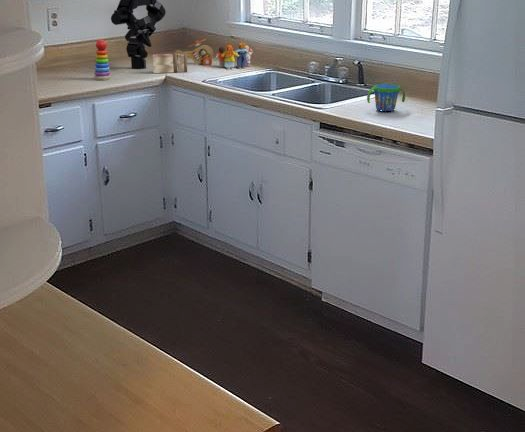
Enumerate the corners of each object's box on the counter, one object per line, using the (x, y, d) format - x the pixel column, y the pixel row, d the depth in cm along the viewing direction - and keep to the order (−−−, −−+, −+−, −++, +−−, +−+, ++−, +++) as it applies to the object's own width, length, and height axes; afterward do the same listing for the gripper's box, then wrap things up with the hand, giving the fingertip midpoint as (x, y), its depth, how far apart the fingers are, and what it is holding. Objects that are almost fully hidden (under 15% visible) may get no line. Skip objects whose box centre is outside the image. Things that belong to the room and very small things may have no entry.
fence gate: (177, 71, 405) (176, 53, 401) (177, 72, 403) (177, 53, 400) (153, 72, 402) (152, 54, 398) (153, 73, 400) (152, 54, 397)
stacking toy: (97, 81, 387) (94, 41, 380) (92, 78, 393) (89, 39, 386) (113, 79, 390) (110, 40, 383) (108, 76, 397) (105, 38, 390)
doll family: (251, 65, 426) (251, 40, 421) (259, 68, 418) (259, 42, 413) (214, 68, 417) (213, 42, 413) (221, 71, 409) (221, 45, 405)
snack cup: (401, 107, 337) (403, 83, 333) (407, 113, 327) (408, 88, 323) (364, 107, 336) (365, 83, 332) (368, 113, 326) (370, 88, 323)
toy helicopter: (214, 66, 422) (213, 40, 418) (174, 67, 420) (173, 40, 415) (213, 63, 430) (212, 37, 425) (173, 64, 428) (172, 38, 423)
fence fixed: (178, 72, 403) (177, 53, 400) (178, 72, 405) (177, 53, 401) (187, 72, 404) (187, 53, 401) (186, 71, 406) (186, 52, 402)
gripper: (128, 12, 388) (147, 38, 387) (152, 8, 403) (171, 33, 402) (116, 28, 394) (135, 53, 393) (140, 23, 409) (158, 47, 408)
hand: (150, 46), depth 399 cm, fingers closed
